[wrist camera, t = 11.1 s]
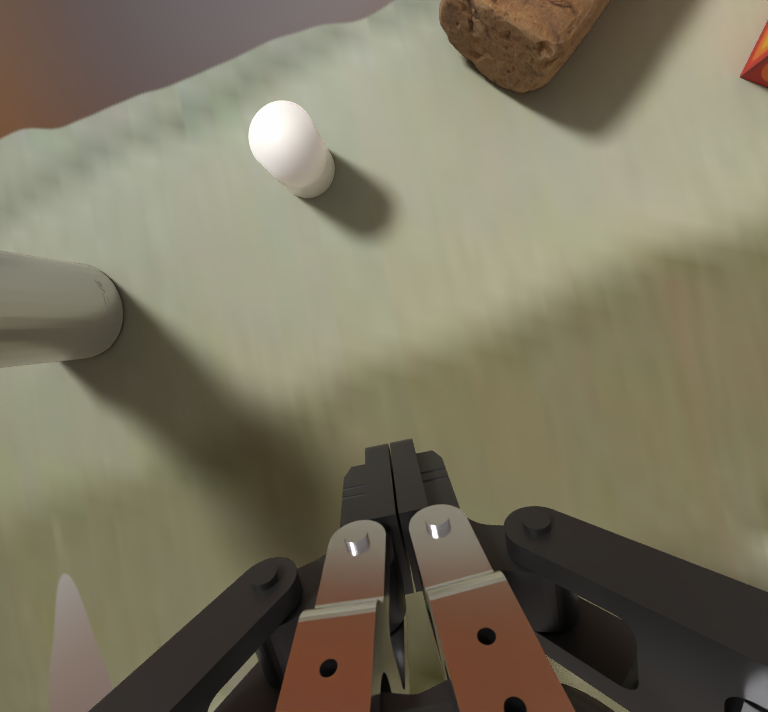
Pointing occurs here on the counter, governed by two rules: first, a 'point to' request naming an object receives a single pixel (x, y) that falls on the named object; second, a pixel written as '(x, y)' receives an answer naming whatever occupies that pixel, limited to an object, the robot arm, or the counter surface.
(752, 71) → the baking soda box
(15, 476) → the counter surface
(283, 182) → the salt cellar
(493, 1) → the block
